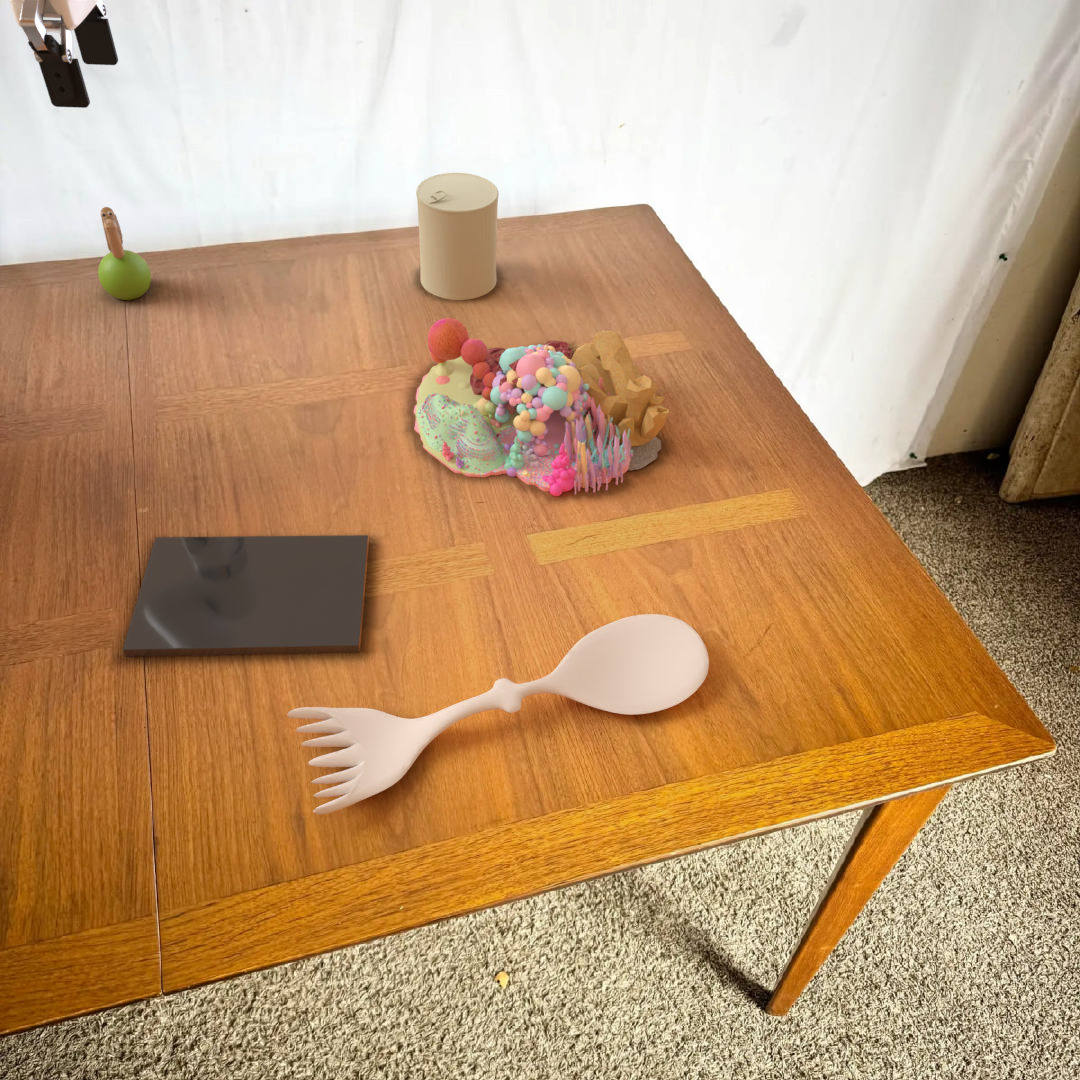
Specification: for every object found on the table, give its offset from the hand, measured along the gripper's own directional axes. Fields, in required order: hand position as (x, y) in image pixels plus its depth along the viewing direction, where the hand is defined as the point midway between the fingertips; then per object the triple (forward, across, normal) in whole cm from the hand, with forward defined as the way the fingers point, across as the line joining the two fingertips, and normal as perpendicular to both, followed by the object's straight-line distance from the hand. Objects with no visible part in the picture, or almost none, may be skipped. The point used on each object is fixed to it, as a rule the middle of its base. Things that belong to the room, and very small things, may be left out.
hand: (87, 83), depth 89 cm
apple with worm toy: (+25, -3, -3) cm, 25 cm away
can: (+25, -8, +34) cm, 43 cm away
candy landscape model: (+25, +18, +42) cm, 53 cm away
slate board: (+25, +42, +18) cm, 52 cm away
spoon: (+25, +53, +39) cm, 71 cm away
